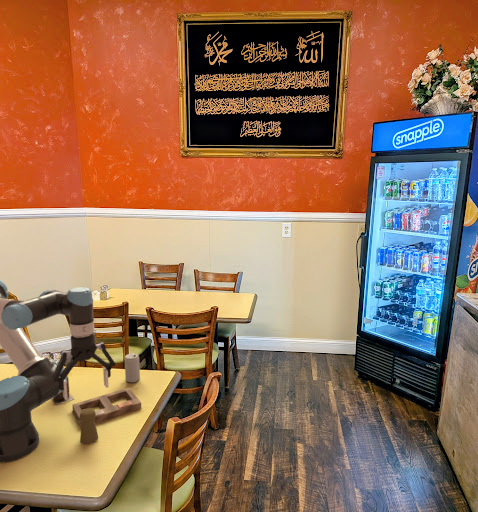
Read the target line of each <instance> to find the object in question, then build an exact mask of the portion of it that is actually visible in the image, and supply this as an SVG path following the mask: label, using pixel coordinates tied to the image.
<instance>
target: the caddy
mask: <svg viewBox="0 0 478 512" xmlns="http://www.w3.org/2000/svg"><path fill="white" fill-rule="evenodd" d="M125 397H126V399H127V400H126V401H124V402H120V403H117V404H114V405H113V403H112V402H113V401H116V400H118V399H122V398H125ZM71 405H72V411H73V414H74V415H75V417H76V419H77V421H78V423H79V425H80V426H81V424H82V421H81V420H80V413H81V412H82V411H83V410H85V409H88V408H92V407H93V408H94V407H96V406H100V407H101V409H99V410H98V409H97V410H95V413H96V416H95V418H94V420H95V424H98V423H101V422H104V421H107V420H110V419H113V418H116V417H119V416H123V415H124V414H127V413H130V412H134V411H136V410H139V409H142V401H141V400H140V399H139V398H138V397H137V396H136V395H135V393H134V392H133V391H132V389H131V388H130V387H126V388H124V389H120V390H116V391H113V392H110V393H107V394H103V395H99V396H96V397H93V398H90V399H87V400H83V401H80V402H77V403H72V404H71Z"/></svg>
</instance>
